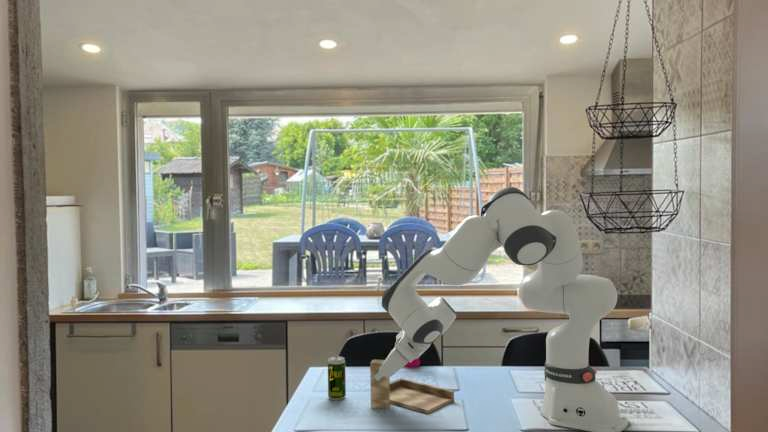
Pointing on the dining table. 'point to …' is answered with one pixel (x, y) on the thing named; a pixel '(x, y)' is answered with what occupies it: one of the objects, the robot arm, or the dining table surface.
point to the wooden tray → (419, 395)
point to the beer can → (336, 378)
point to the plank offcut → (379, 387)
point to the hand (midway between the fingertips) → (378, 375)
